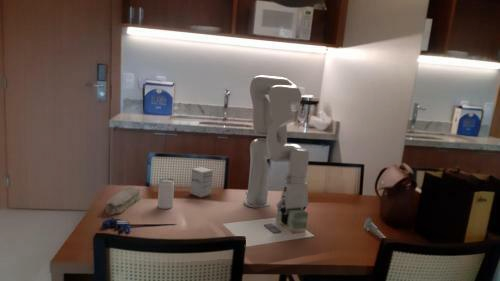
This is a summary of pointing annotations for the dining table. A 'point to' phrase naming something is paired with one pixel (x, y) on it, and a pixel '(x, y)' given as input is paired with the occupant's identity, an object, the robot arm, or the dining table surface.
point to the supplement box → (201, 181)
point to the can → (165, 193)
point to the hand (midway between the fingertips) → (291, 221)
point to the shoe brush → (122, 200)
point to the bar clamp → (124, 224)
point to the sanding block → (294, 220)
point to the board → (262, 232)
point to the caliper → (372, 228)
